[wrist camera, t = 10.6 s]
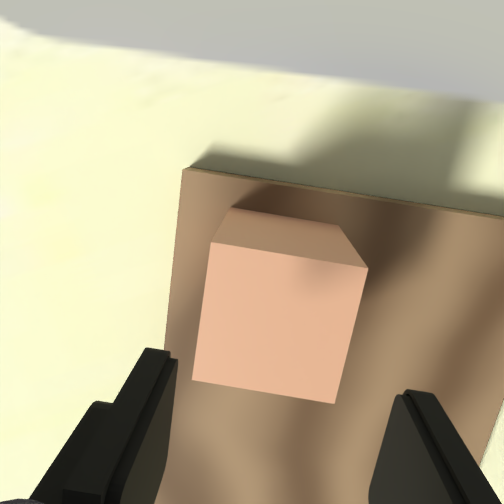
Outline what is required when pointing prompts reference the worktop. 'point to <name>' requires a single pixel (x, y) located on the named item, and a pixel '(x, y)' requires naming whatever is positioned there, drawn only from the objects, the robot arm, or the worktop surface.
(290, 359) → the salmon pink block
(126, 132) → the worktop surface
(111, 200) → the worktop surface
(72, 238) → the worktop surface
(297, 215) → the board
